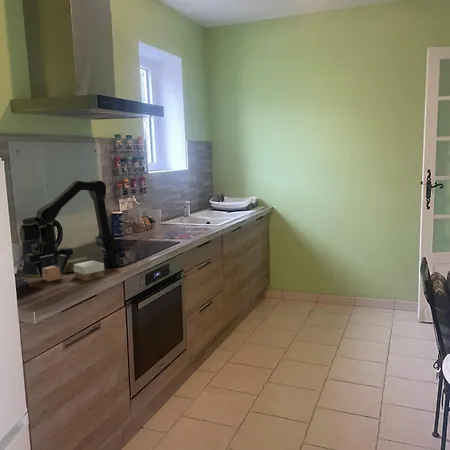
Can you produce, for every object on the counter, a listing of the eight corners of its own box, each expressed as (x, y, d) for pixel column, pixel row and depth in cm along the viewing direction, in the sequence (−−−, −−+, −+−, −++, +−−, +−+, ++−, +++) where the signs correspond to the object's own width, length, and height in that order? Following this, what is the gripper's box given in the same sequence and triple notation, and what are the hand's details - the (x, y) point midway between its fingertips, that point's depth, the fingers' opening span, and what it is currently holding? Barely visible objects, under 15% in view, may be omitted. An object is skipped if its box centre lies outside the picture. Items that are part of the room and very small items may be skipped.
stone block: (91, 268, 212) (90, 257, 211) (70, 273, 203) (69, 262, 202) (83, 266, 215) (82, 256, 214) (62, 272, 206) (61, 261, 205)
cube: (54, 277, 198) (53, 265, 197) (60, 278, 194) (59, 267, 193) (43, 279, 194) (42, 268, 193) (48, 281, 191) (47, 269, 190)
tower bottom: (94, 273, 202) (93, 267, 201) (105, 277, 196) (104, 270, 195) (74, 278, 196) (74, 271, 195) (85, 281, 189) (85, 274, 189)
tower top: (93, 267, 201) (92, 260, 201) (104, 270, 195) (103, 263, 195) (74, 271, 195) (73, 264, 195) (84, 274, 189) (84, 267, 188)
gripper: (60, 233, 204) (63, 267, 206) (17, 239, 190) (21, 276, 193) (72, 235, 196) (75, 271, 198) (28, 242, 183) (32, 280, 185)
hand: (51, 274), depth 194 cm, fingers open, 9 cm apart
